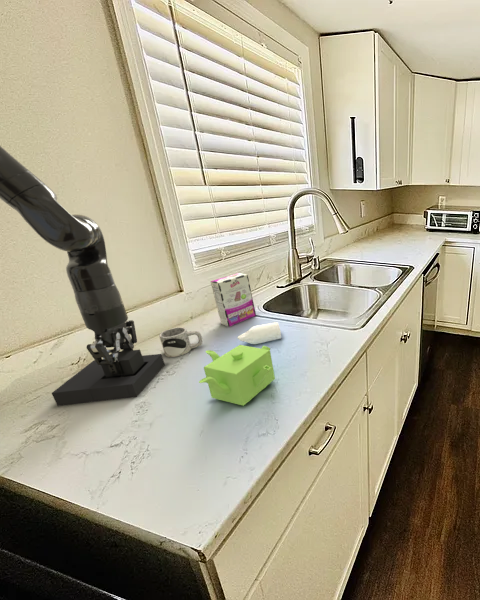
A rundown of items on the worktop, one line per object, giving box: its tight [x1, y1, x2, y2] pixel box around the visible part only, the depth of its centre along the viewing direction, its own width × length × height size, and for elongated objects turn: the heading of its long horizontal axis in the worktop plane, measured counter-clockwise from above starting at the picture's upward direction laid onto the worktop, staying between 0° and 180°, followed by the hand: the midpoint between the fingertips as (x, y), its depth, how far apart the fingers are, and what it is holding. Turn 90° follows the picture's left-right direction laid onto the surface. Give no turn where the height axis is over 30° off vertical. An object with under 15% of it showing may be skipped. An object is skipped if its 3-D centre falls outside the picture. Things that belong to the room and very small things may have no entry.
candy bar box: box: [210, 272, 257, 328], centre depth 114 cm, size 11×5×16 cm, turn 150°
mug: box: [158, 326, 204, 358], centre depth 96 cm, size 10×7×7 cm, turn 114°
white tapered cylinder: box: [236, 321, 282, 345], centre depth 101 cm, size 6×12×6 cm, turn 121°
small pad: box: [101, 349, 144, 377], centre depth 80 cm, size 6×5×4 cm
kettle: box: [198, 344, 276, 407], centre depth 76 cm, size 15×14×11 cm
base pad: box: [51, 353, 166, 407], centre depth 81 cm, size 16×14×4 cm
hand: (125, 368), depth 80 cm, fingers closed on small pad, 5 cm apart
